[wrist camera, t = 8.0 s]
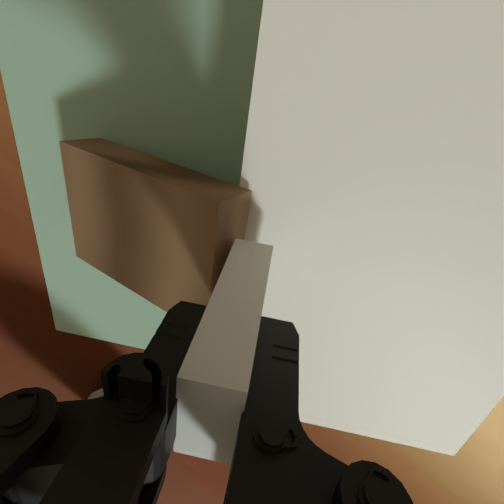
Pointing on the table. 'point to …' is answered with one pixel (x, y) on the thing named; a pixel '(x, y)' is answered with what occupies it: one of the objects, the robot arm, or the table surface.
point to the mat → (121, 119)
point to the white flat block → (384, 209)
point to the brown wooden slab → (151, 220)
